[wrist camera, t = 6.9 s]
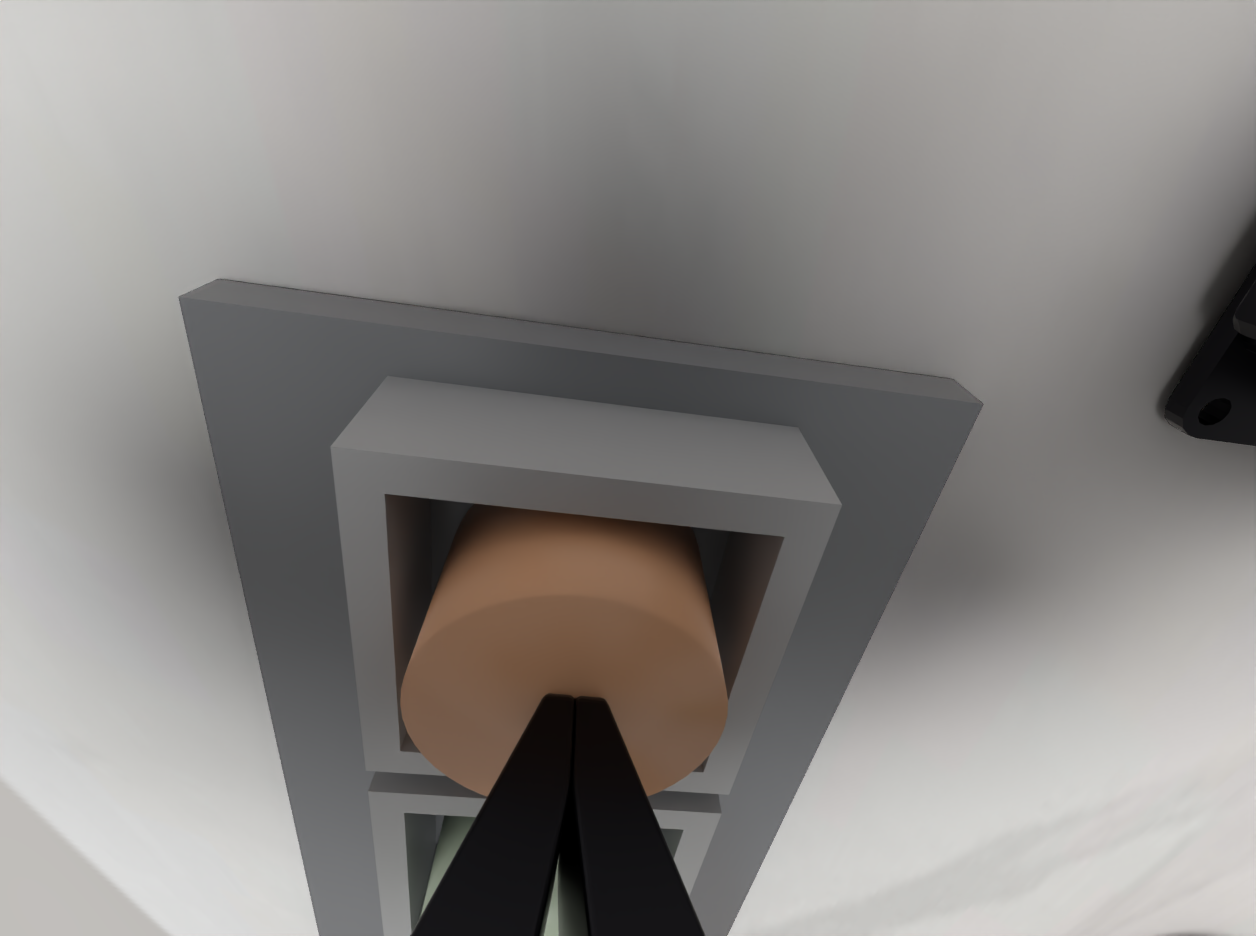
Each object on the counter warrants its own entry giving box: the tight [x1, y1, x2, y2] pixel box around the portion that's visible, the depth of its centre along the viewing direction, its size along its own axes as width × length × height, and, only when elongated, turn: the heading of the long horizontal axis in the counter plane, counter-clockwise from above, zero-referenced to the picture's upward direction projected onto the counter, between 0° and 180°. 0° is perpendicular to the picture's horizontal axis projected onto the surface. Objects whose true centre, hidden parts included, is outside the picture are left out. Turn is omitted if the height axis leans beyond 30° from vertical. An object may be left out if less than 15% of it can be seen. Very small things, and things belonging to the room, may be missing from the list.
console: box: [179, 279, 983, 936], centre depth 14 cm, size 12×22×3 cm, turn 172°
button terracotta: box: [400, 504, 728, 797], centre depth 10 cm, size 4×4×3 cm
